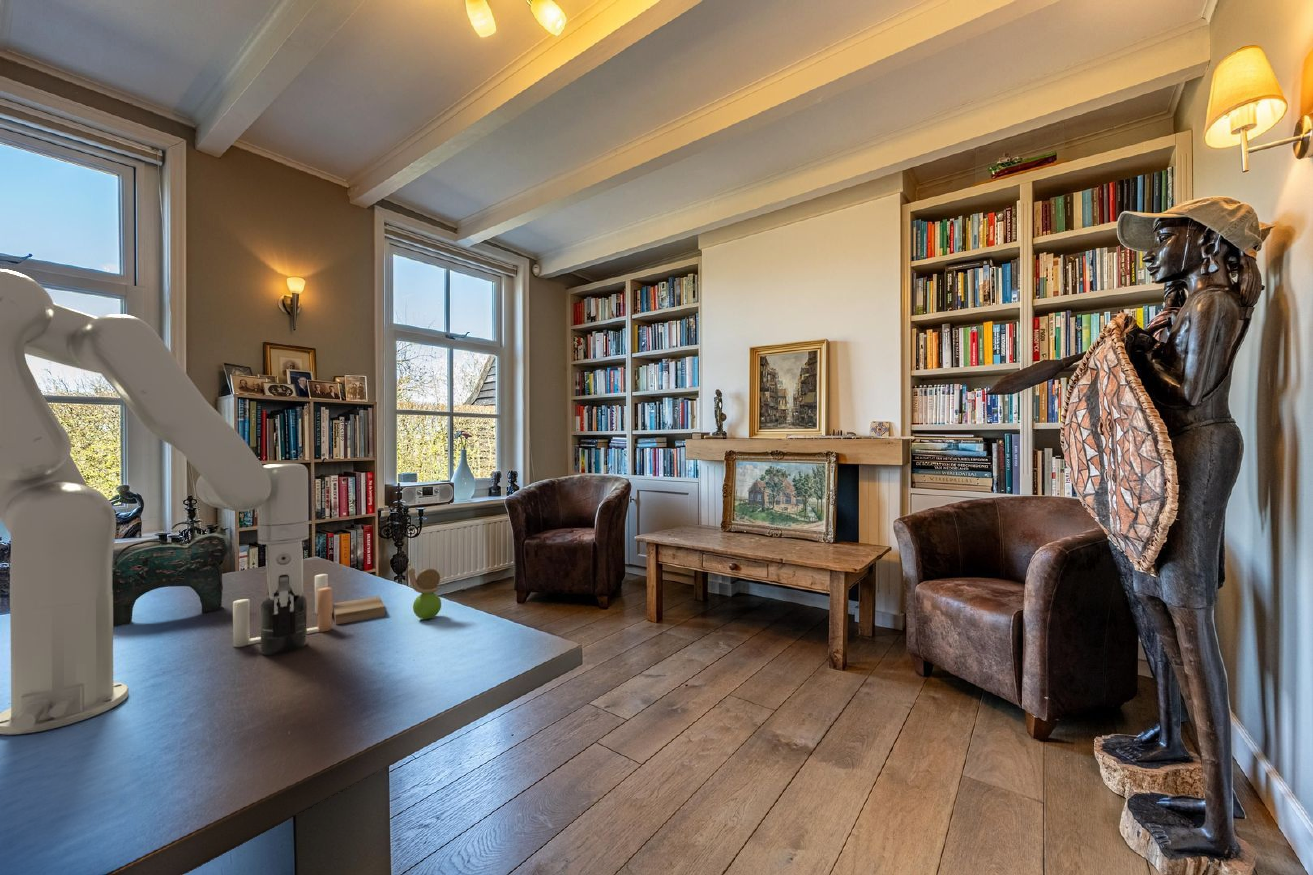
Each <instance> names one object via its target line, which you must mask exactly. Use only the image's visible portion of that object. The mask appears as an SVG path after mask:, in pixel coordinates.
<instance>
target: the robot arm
mask: <svg viewBox="0 0 1313 875" xmlns="http://www.w3.org/2000/svg"><path fill="white" fill-rule="evenodd" d="M26 355H29V356H33V357H35V358H39V359H43V360H47V361H50V362H53V363H57V364H61V365H65V366H67V367H68V366H69V367H72V368H76V369H80V370H83V371H88V372H92V373H97V374H101V375H102V377H103V378H104V379H105V381H106V382H107V383H108V384H109V385H110V386H111V387H112V388H113V390H114V391H115V392H116V394H118V397H120V398H121V400H122V401H123V403H124V404H126V406H127V408H128V409H129V410H130V412H132V414H133V416H134V417H135V418H136V419H137V421H138V422H139V423H140V424H141V425H142V426H143V427H144V428H145V429H146V430H147V431H149V433H151V434H152V435H153V436H155V437H157V438H158V439H160V440H161V441H164V442H165V443H167V444H169V446H171V447H172V448H174V449H175V450H176V451H177V452H179V453H180V455H182V457H184V458H185V459H186V460H187V461H188V462H189V463H190V465H192V466H193V468H194V469H195V470H196V471H197V473H198V474H199V475H200V476H198V478H197V479H196V480H197V481H196V483H195V491H196V495H197V497H199V499H200V500H201V501H202V502H203V503H205V504H206V505H209V506H210V507H213V508H218V509H223V510H228V511H233V512H247V511H252V510H255V509H257V512H256V513H257V544H260V545H266V546H265V550H266V551H265V552H266V556H265V557H266V579H267V580H266V581H267V590H268V589H269V595H268V596H270V599H271V600H273V601H274V614H273V637H274V638H276V637H282V636H287V635H293V634H295V610H294V601H293V598H294V595H295V596H296V595H299V597H301V596H302V595H304V552H303V551H304V550H303V541H306V540H308V539H309V536H310V535H309V533H310V532H309V531H310V530H309V528H310V527H309V471H308V468H307V467H306V466H305V465H304V464H301V463H271V464H265V465H263V464H262V463H261V461H260V459H259V458H258V457H257V456H256V455H255V452H254V451H253V450H252V449H251V447H250V446H249V445H248V443H247V442H246V441H245V439H243V437H242V435H240V434H239V433H238V432H237V431H236V429H234V427H233V426H232V425H230V423H228V421H227V420H226V419H224V417H223V416H222V415H221V414H220V413H219V412H218V411H217V410H216V409H215V407H213V406H212V405H211V404H210V403H209V402H208V401H207V399H205V397H204V396H203V394H202V393H201V392H200V390H199V389H198V388H197V386H196V385H195V384H194V382H193V381H192V380H191V378H190V377H189V376H188V374H187V373H186V371H185V370H184V369H183V367H182V365H180V363H179V362H178V361H177V359H176V357H175V356H174V355H173V353H172V352H171V350H170V349H169V348H168V346H167V345H166V344H165V342H164V341H163V339H162V338H161V337H160V335H159V334H158V333H157V331H156V330H155V329H154V328H152V327H151V325H149V324H148V323H147V322H145V321H144V320H142V319H141V318H138V317H136V316H133V315H129V314H118V313H117V314H116V313H114V314H107V315H102V316H99V317H97V316H94V315H91V314H88V313H85V312H81V311H78V310H75V309H72V308H68V307H66V306H63V305H61V304H57V303H55V302H54V301H53V300H52V297H51V296H50V293H48V292H47V290H46V289H45V288H44V287H43V286H42V285H41V284H40V283H39V282H37V281H36V280H34V279H33V278H31V277H30V276H27V275H25V274H22V273H20V272H18V271H13V270H9V269H4V268H3V269H2V268H0V521H1V522H2V524H3V526H4V527H5V529H6V530H7V531H8V533H10V535H9V536H10V559H9V560H10V561H9V562H10V563H9V564H10V567H9V568H10V569H9V608H10V609H9V611H10V620H9V621H10V624H9V626H10V630H9V631H10V707H8V708H7V709H5V710H3V711H2V712H0V735H6V736H7V735H9V736H11V735H14V736H15V735H23V734H24V735H25V734H32V733H33V734H34V733H37V732H43V731H48V730H52V729H56V728H57V729H58V728H61V727H65V726H69V725H72V724H75V723H78V722H81V721H85V720H88V719H91V718H93V717H96V716H98V715H101V714H103V713H105V712H107V711H109V710H111V709H112V708H114V707H116V706H118V705H119V704H121V703H122V702H124V701H125V700H126V699H127V697H129V691H130V690H129V685H128V684H125V683H124V682H116V681H114V627H113V588H112V579H113V577H112V572H113V569H114V567H113V566H114V562H113V561H114V549H115V541H116V533H117V532H116V531H117V517H116V512H115V509H114V507H113V504H112V502H111V501H110V500H109V499H108V497H106V495H105V494H103V493H102V492H101V491H99V490H97V489H95V488H93V487H90V486H88V483H86V480H85V478H84V477H83V474H82V473H81V471H80V469H79V467H78V466H77V465H76V463H75V460H74V459H73V457H72V455H71V451H72V441H71V438H70V435H69V433H68V432H67V431H66V429H65V428H64V427H63V425H62V424H61V423H60V421H59V419H58V418H57V417H56V415H55V414H54V411H53V410H52V409H51V406H50V405H49V402H47V400H46V398H45V396H44V394H43V393H42V391H41V390H40V388H39V385H38V383H37V381H36V378H35V376H34V374H33V372H32V371H31V369H30V367H29V365H28V362H27V360H26ZM288 579H289V584H288ZM279 580H280V584H279ZM290 593H291V594H290ZM293 593H294V594H293ZM277 595H278V596H277Z"/></svg>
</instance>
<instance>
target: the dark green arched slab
mask: <svg viewBox="0 0 1313 875" xmlns="http://www.w3.org/2000/svg"><path fill="white" fill-rule="evenodd" d="M180 525H188V526H190V527H191V528H192V536H191V537H190V539H188V540H186V541H182V542H171V541H169V542H168V541H163V540H156V539H155V540H154V539H153V540H151V539H150V540H144V541H140V542H136V543H133V544H130V545H127V546H126V547H124V548H123V549H121V551H120V552H118V554H117V555H116V557H115V559H114V560H113V561H114V562H113V566H114V567H113V572H112V577H113V579H112V588H113V628H114V627H121V626H127V625H130V624H131V623H132V621H133V612H134V611H133V610H134V607H135V606H134V605H135V603H136V601H137V600H138V599H139V598H140V597H142V596H143V595H145V594H146V593H149V592H151V591H153V590H157V589H160V588H166V587H168V588H170V587H187V588H188V587H189V588H190V589H192V590H194V592H195V593H196V594H197V596H198V598H199V601H200V603H201V613H202V614H204V613H209V612H214V611H221V609H222V602H223V601H222V600H223V588H224V586H223V570H222V568H221V566H220V563H221V561H223V560H224V559H225V558H226V557H227V555H228V554H229V553H230V551H231V549H232V548H231V547H232V544H231V543H232V541H231V539H230V537H228V536H227V533H226V530H225V528H224V527H223V526H221V527H219V528H218V529H217V530H216V531H215V532H213V533H207V534H199V533H196V531H195V527H194V525H193V524H192V523H190V522H188V521H182V522H181V521H179V522H178V523H176V524H174V525H173V526H172V527H171V530H173V531H174V528H176V527H177V526H180ZM189 542H190V543H189ZM147 543H160V544H158V545H154V546H148V547H143V548H141V549H137V550H135V551H132V552H130V553H128V554H127V555H125V556H124V557H123V558H122V559H121V560H119V561H118V559H119V557H120V556H121V555H122V554H124V552H125V551H127V550H129V549H130V548H133V547H135V546H139V545H144V544H147Z"/></svg>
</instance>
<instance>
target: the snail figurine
mask: <svg viewBox="0 0 1313 875" xmlns="http://www.w3.org/2000/svg"><path fill="white" fill-rule="evenodd" d="M407 566H408V567H409V568H408V569H407V575H408V576H409V582H410V584H411V587H412V588H413V590H414V592H416V593H419V595H418V596H417V597H416V598H415V599H414V602H413V605H412V610H413V612H414V614H415V616H416V617H418V618H420V619H421V620H429V619H432V618H434V617H436V616H437V615H438V614H439V612H441V609H442V600H441V598H440V596H439V594H437V593H436V592H437V591H438V590H439V589H441V586H440V585H439V583H440V581H441V575H440V573H439V571H437V570H436V569H434V568H426V569H425V568H424V569H423V570H422V571H420V572H419V573H418V575H417V577H416V575H415V573H416V570H415V568H414V567H410V566H411V562H408V563H407Z"/></svg>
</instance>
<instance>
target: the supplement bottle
mask: <svg viewBox="0 0 1313 875" xmlns="http://www.w3.org/2000/svg"><path fill="white" fill-rule="evenodd" d="M279 584H280V580H279ZM288 584H289V579H288ZM290 594H291V593H290ZM293 594H294V593H293ZM267 595H268V596H269V589H268V588H267ZM277 596H278V595H277ZM293 601H294V610H295V634H293V635H287V636H282V637H276V638H274V637H273V614H274V601H273V600H271V599H270V596H269V597H268V598H266V599H264V601H263V602H262V604H261V606H260V637H261V642H260V651H261V653H262V654H263V655H265V656H280V655H281V656H282V655H287V654H292V653H294V652H297V651H299V650H301V649H302V648H304V647H305V646H306V645H307V642H308V637H307V636H308V634H307V627H308V599H307V597H306V595H304V594H303V595H302V596H301V597H299V595H296V596H295V595H294V598H293Z"/></svg>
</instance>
